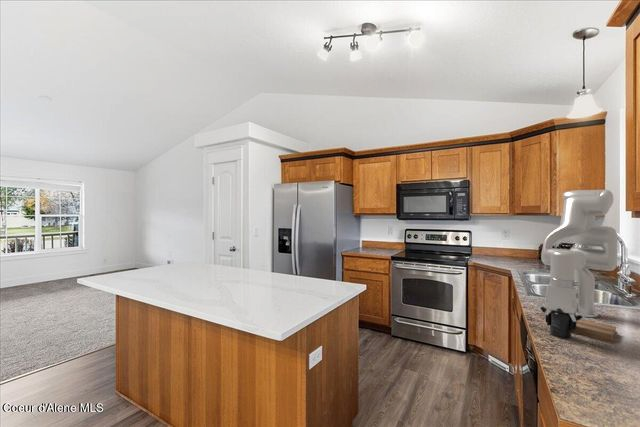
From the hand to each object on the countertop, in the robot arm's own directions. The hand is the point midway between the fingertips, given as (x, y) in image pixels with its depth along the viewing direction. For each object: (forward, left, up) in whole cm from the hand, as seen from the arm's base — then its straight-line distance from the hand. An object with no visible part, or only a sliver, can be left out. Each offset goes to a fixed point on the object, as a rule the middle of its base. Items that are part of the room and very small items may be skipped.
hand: (560, 327), depth 119 cm
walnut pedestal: (-13, +8, -3) cm, 16 cm away
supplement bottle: (0, 0, -3) cm, 3 cm away
